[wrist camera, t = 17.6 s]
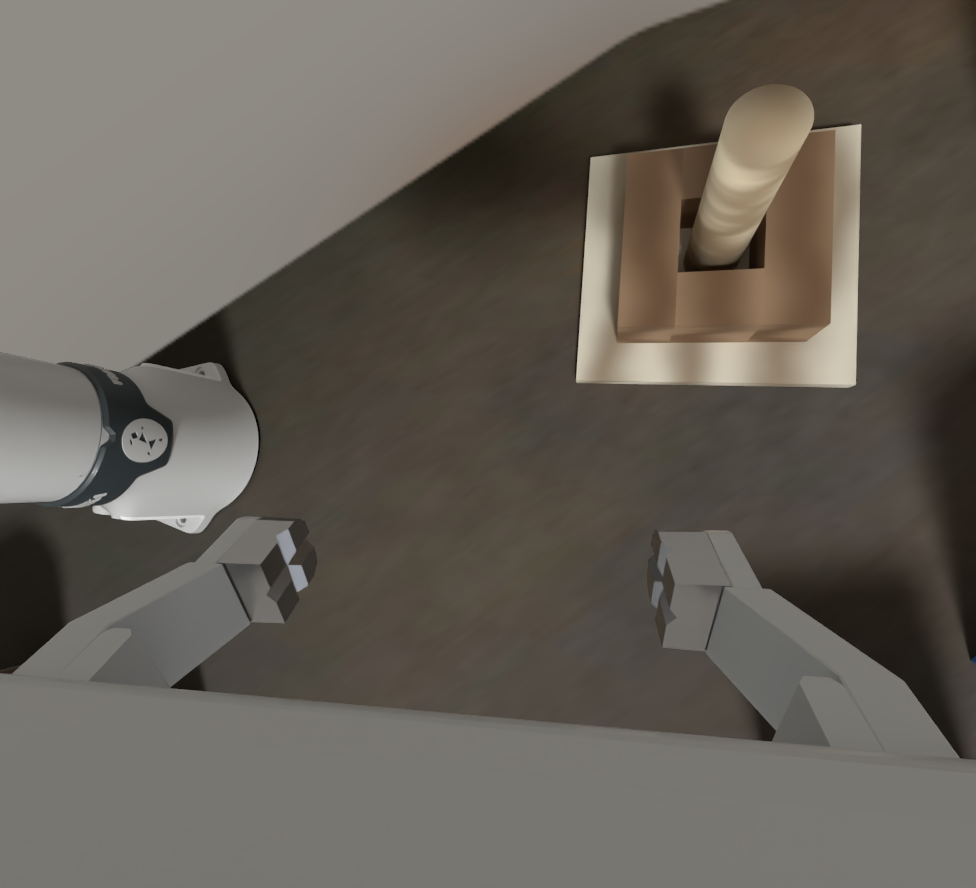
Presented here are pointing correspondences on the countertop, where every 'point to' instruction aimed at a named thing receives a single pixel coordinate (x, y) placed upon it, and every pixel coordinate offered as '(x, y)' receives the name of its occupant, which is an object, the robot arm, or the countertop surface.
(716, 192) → the maple peg
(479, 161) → the countertop surface
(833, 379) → the socket board
